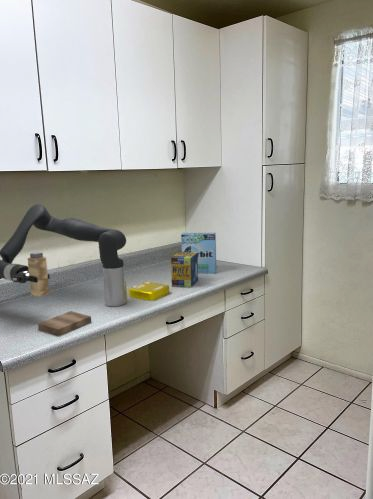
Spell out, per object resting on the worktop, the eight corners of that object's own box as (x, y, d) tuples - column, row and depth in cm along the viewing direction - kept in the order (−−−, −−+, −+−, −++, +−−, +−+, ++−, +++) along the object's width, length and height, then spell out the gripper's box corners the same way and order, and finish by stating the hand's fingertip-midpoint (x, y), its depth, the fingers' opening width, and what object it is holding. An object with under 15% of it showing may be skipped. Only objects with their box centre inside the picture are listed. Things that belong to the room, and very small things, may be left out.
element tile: (152, 302, 188) (152, 292, 188) (127, 297, 196) (126, 287, 195) (171, 293, 201) (170, 284, 200) (146, 289, 209) (146, 280, 208)
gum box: (216, 271, 239) (216, 232, 235) (215, 273, 234) (215, 233, 230) (183, 271, 242) (182, 232, 238) (182, 273, 237) (180, 233, 233)
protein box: (171, 286, 211) (170, 257, 208) (180, 279, 225) (179, 251, 222) (191, 288, 208) (190, 258, 205) (198, 279, 222) (198, 251, 219)
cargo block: (37, 259, 167) (37, 252, 166) (43, 260, 165) (42, 252, 164) (30, 260, 164) (29, 253, 163) (36, 261, 162) (35, 254, 161)
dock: (71, 316, 171) (70, 311, 171) (91, 322, 165) (91, 316, 164) (38, 329, 158) (37, 323, 158) (58, 335, 152) (58, 329, 151)
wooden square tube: (41, 291, 171) (38, 255, 168) (49, 293, 168) (45, 257, 165) (31, 294, 166) (27, 258, 163) (38, 296, 164) (35, 259, 161)
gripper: (33, 277, 180) (58, 282, 171) (2, 285, 169) (28, 291, 159) (31, 261, 179) (56, 265, 169) (0, 268, 167) (26, 273, 158)
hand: (42, 278), depth 164 cm, fingers closed on wooden square tube, 5 cm apart
